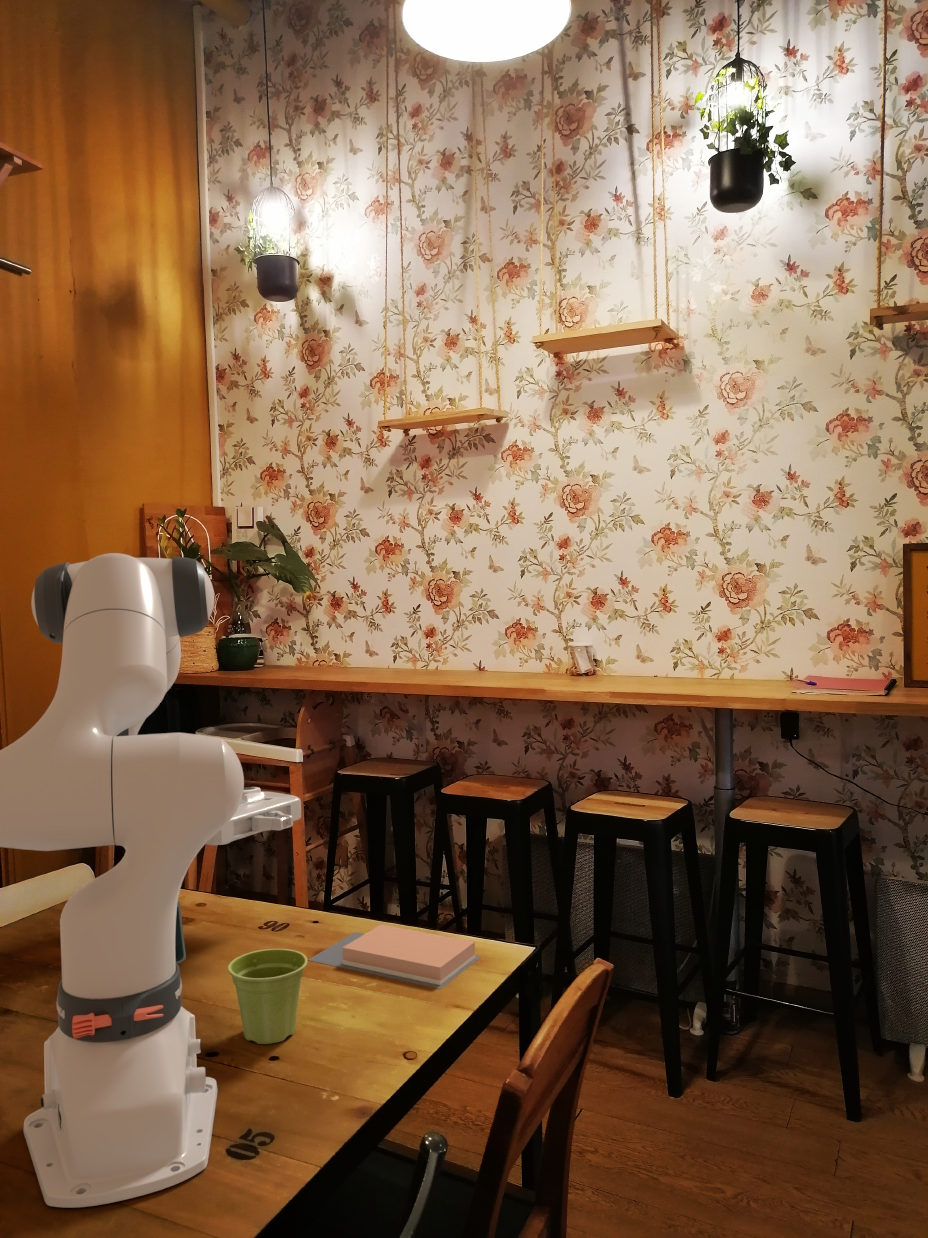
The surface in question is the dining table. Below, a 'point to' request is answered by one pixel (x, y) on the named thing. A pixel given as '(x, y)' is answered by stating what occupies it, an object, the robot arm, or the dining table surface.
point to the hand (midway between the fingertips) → (287, 823)
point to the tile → (409, 954)
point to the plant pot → (268, 992)
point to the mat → (335, 958)
